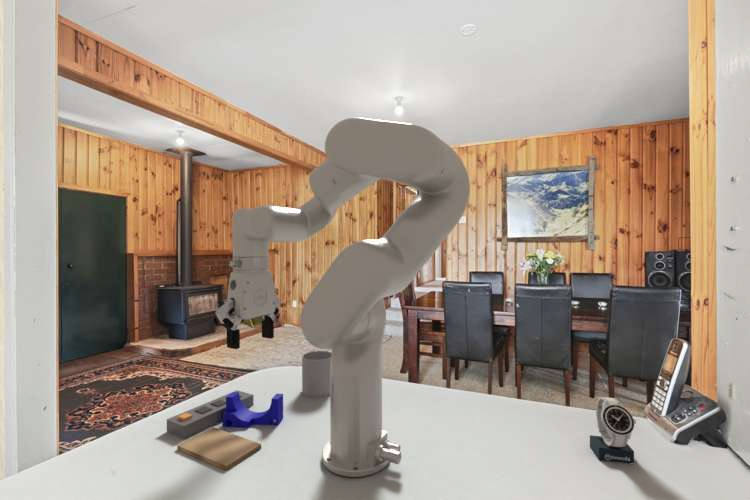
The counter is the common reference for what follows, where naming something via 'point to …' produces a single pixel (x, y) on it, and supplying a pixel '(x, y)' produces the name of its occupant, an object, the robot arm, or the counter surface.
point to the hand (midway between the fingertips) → (251, 342)
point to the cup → (316, 373)
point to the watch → (613, 432)
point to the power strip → (203, 416)
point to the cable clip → (251, 413)
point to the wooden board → (219, 448)
